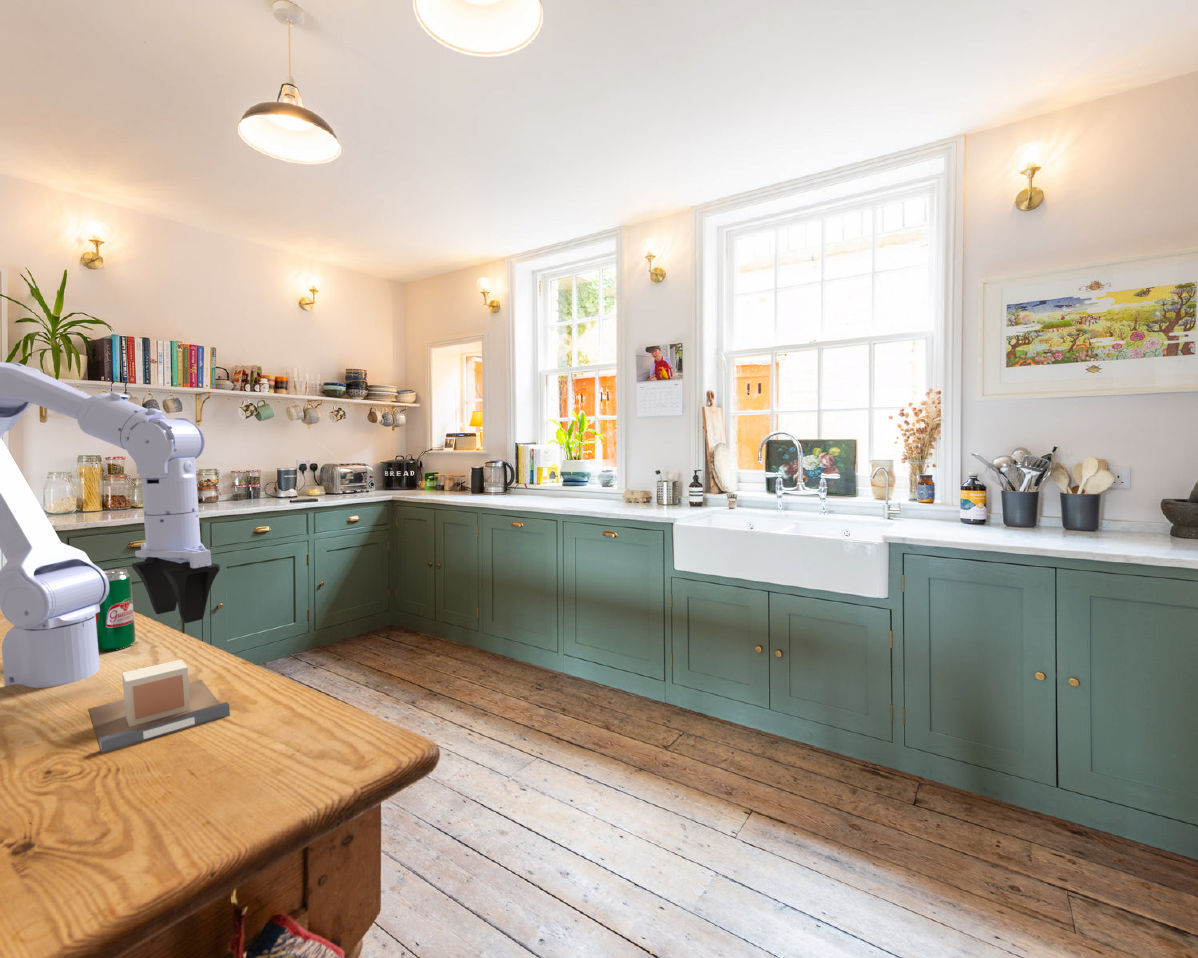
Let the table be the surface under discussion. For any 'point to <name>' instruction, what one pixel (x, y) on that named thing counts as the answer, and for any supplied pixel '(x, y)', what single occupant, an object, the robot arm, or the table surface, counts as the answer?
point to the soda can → (116, 613)
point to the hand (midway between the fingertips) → (179, 616)
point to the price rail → (163, 727)
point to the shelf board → (114, 721)
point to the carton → (156, 692)
